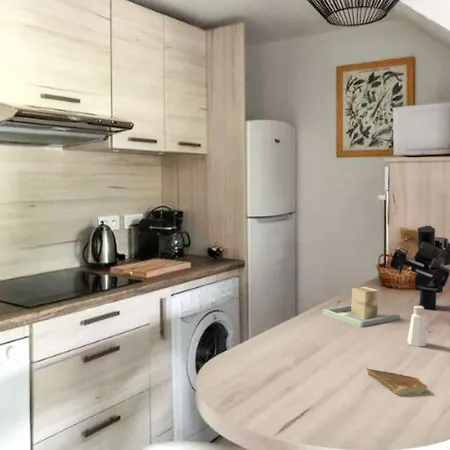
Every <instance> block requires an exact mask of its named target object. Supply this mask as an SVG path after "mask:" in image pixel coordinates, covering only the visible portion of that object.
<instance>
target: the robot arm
mask: <svg viewBox="0 0 450 450" xmlns="http://www.w3.org/2000/svg"><path fill="white" fill-rule="evenodd" d="M416 229H417V239H416V243H417V244H416V245H417V249H418V251H417V250H416V253H415V254H414V257H413V259H411V258H410V257H407V256H408V253H407V252H404V251H402V250H399V249H396V250H395V251H394V253H393V255H392V258H391V261H390V264H389V266H390V267H391V268H393V270H395V271H396V273H398V275H399V276H400V275H402V272H403V269H404V265H405V266H408V267H411V270H410V271H411V272H413V273H415V277H414V287H415V288H414V289H415V291H419V303H418V304H417V306H423V307H424V310H425V309H426V310H434V311H436V310H437V309H438V307H439V305H438V304H437V294H442V293H443V292H444V290H443V289H444V287H446V284H447V281H448V279H449V277H450V269H449V268H446V267H445V266H450V242H449V239H448V238H447V237H440V236H439V237H438V236H436V229H435V228H434V227H433V226H432V225H425V226H420V227H417V228H416Z"/></svg>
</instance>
